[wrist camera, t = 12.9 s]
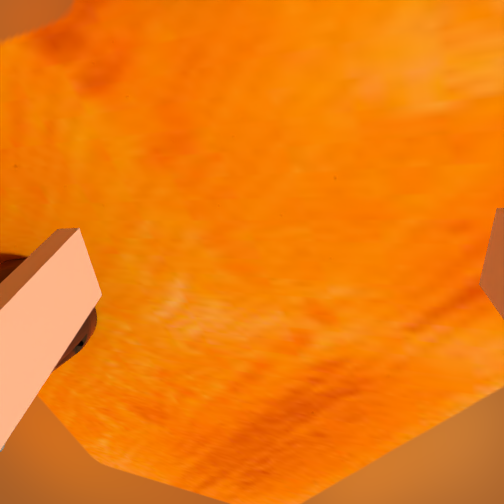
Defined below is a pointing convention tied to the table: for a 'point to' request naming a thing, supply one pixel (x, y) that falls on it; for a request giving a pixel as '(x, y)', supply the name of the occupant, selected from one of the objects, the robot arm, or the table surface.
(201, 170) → the table surface
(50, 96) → the table surface
